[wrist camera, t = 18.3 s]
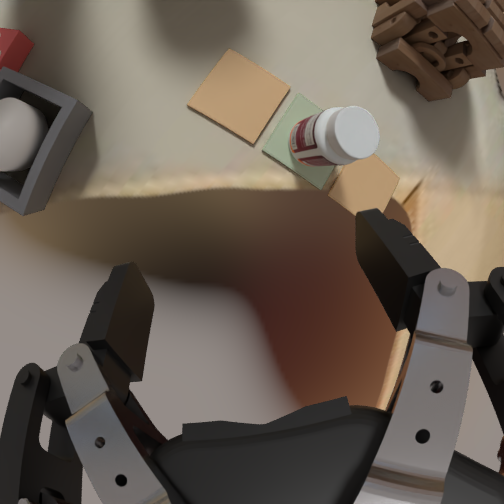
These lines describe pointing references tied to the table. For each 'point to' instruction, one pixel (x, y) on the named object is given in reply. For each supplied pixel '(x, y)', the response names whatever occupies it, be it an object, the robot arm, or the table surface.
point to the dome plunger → (20, 134)
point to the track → (285, 130)
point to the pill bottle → (334, 137)
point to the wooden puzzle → (440, 41)
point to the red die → (13, 48)
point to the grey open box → (52, 148)
